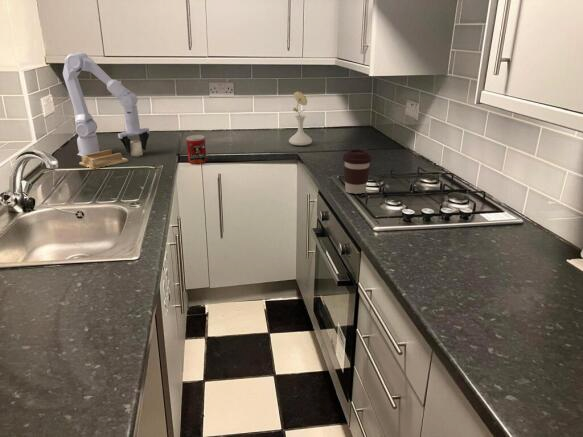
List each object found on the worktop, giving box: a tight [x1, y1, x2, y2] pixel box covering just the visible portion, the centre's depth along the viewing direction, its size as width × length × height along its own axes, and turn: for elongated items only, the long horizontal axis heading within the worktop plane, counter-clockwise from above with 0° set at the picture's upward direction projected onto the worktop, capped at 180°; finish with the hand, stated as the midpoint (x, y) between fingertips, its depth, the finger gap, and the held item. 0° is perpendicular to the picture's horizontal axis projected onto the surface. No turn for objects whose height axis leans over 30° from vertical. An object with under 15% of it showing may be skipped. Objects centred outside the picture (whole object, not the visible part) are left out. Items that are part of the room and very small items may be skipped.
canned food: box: [186, 134, 207, 166], centre depth 201 cm, size 8×8×11 cm
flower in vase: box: [288, 91, 313, 146], centre depth 225 cm, size 13×11×25 cm
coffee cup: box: [342, 148, 373, 194], centre depth 166 cm, size 10×10×15 cm
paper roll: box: [130, 140, 143, 157], centre depth 212 cm, size 5×5×6 cm
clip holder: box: [79, 149, 129, 171], centre depth 202 cm, size 12×16×4 cm
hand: (136, 151), depth 213 cm, fingers open, 7 cm apart
